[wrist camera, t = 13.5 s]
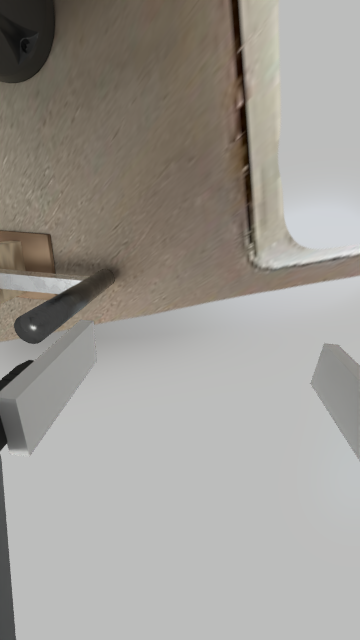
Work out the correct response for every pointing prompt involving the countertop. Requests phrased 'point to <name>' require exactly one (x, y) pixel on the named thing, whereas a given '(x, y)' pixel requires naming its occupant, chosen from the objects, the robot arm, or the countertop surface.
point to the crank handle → (59, 308)
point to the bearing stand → (25, 259)
